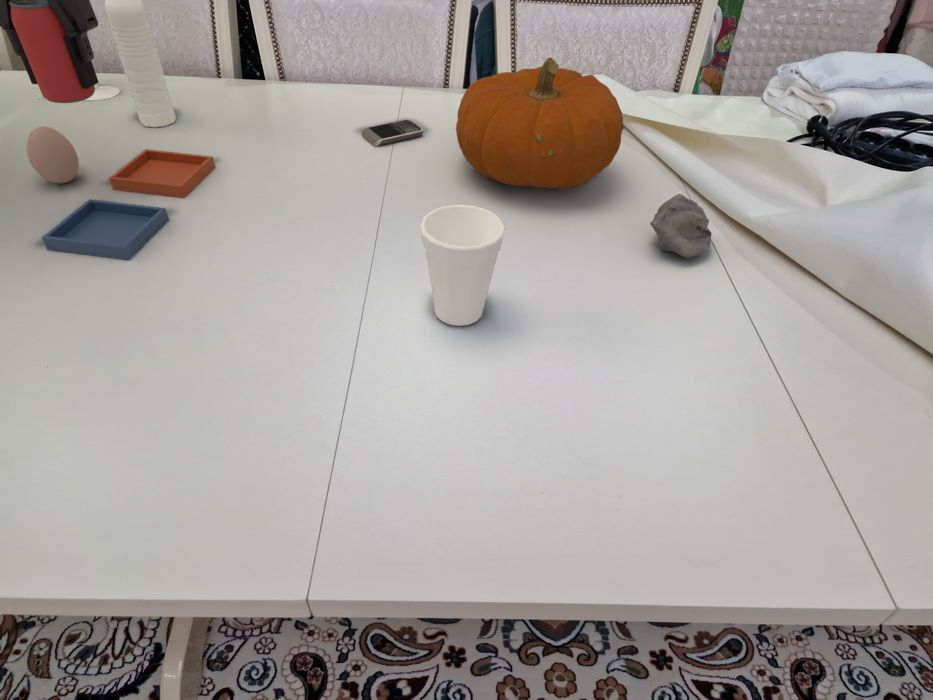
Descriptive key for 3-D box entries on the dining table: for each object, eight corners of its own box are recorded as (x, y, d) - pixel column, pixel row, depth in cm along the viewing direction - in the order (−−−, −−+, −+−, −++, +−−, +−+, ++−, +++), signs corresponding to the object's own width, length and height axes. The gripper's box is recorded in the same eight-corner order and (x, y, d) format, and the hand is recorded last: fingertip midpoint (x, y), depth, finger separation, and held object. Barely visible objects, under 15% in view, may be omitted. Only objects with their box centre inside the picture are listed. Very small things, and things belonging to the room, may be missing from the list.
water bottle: (142, 129, 117) (95, -19, 100) (139, 116, 121) (93, -29, 104) (190, 124, 120) (152, -22, 103) (185, 110, 124) (148, -31, 107)
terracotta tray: (112, 189, 100) (108, 178, 98) (149, 159, 108) (145, 149, 107) (184, 197, 99) (181, 186, 98) (215, 167, 107) (212, 156, 106)
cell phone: (425, 136, 121) (425, 129, 120) (375, 148, 116) (375, 140, 115) (409, 125, 125) (409, 118, 124) (360, 136, 120) (359, 129, 119)
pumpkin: (627, 163, 116) (654, 50, 103) (586, 230, 97) (612, 102, 84) (489, 131, 124) (497, 23, 111) (426, 187, 105) (427, 64, 92)
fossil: (674, 275, 89) (690, 227, 84) (626, 247, 94) (638, 200, 89) (719, 251, 94) (736, 204, 89) (671, 226, 100) (685, 180, 94)
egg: (50, 172, 103) (26, 118, 97) (92, 172, 104) (71, 118, 98) (34, 191, 98) (8, 136, 92) (78, 191, 99) (55, 136, 93)
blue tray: (47, 249, 86) (41, 237, 85) (94, 210, 95) (89, 199, 93) (129, 260, 86) (124, 247, 84) (169, 219, 94) (165, 208, 92)
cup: (436, 345, 75) (438, 255, 67) (409, 298, 82) (407, 211, 73) (509, 327, 79) (520, 239, 70) (477, 283, 85) (483, 198, 76)
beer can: (45, 90, 87) (6, -5, 79) (96, 85, 89) (63, -8, 81) (42, 107, 83) (1, 8, 75) (97, 101, 85) (62, 4, 77)
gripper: (86, -126, 71) (147, 80, 87) (-70, -136, 73) (17, 68, 88) (45, -120, 66) (118, 99, 81) (-123, -131, 67) (-20, 86, 83)
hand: (65, 82), depth 85 cm, fingers closed on beer can, 6 cm apart
